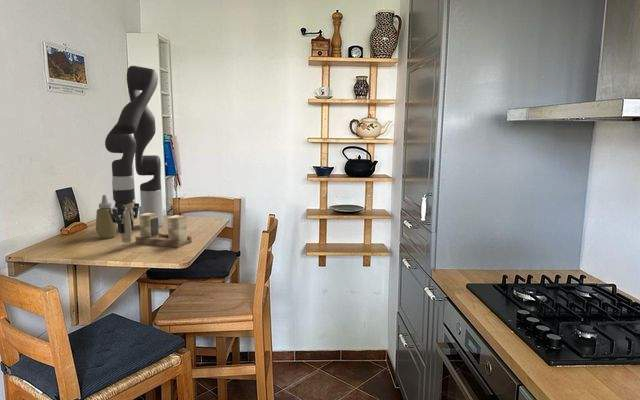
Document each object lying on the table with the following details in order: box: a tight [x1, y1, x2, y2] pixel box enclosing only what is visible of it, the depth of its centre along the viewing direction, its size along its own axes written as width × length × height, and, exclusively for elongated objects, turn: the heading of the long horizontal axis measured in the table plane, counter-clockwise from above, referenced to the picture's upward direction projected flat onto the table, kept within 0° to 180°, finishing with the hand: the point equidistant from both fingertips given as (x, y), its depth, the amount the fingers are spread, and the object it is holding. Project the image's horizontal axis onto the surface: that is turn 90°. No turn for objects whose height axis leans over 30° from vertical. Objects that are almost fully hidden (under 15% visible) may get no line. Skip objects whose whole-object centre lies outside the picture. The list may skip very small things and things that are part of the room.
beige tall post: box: [120, 202, 135, 244], centre depth 167 cm, size 5×6×15 cm
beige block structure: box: [134, 213, 192, 249], centre depth 177 cm, size 20×9×11 cm, turn 73°
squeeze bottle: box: [95, 194, 118, 239], centre depth 183 cm, size 8×8×18 cm
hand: (126, 231), depth 168 cm, fingers closed on beige tall post, 4 cm apart
